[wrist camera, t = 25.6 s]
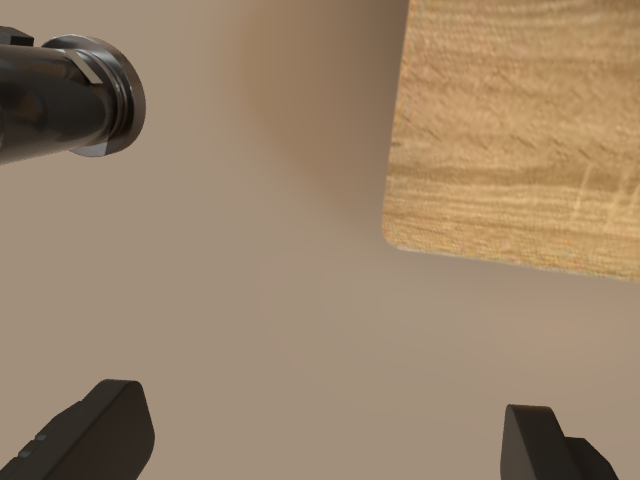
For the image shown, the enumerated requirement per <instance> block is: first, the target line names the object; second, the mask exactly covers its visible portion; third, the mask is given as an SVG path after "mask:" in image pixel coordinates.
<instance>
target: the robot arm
mask: <svg viewBox="0 0 640 480" xmlns="http://www.w3.org/2000/svg"><path fill="white" fill-rule="evenodd" d="M33 43H34V38H33V37H31V36H29V35H27V34H25V33H23V32H21V31H19V30H17V29H14V28H11V27H3V26H0V165H4V164H9V163H13V162H18V161H22V160H26V159H31V158H35V157H39V156H44V155H49V154H53V153H57V152H61V151H66V150H71V149H75V148H80V147H84V146H93V145H98V144H101V143H104V142H106V141H107V140H109V139H110V138H111V137H112V136H113V135H114V134H115V133H116V131H117V130H118V128H119V126H120V123H121V120H122V114H123V102H122V96H121V92H120V89H119V86H118V84H117V82H116V80H115V78H114V76H113V75H112V73H111V72H110V70H109V69H108V68H107V67H106V66H105V64H104V63H102V62H101V61H100V60H99V59H98V58H96V57H95V56H93V55H92V54H90V53H87V52H85V51H82V50H78V49H67V48H66V49H54V48H43V47H33ZM154 440H155V434H154V429H153V425H152V421H151V417H150V413H149V410H148V406H147V403H146V398H145V395H144V391H143V388H142V385H141V384H140V383H139V382H138V381H130V380H129V381H128V380H113V379H105V380H103V381H101V382H100V383H98V384H97V385H96V386H95V387H94V388H93V389H92V390H91V391H90V393H89V394H88V395H87V396H86V397H85V398H84V399H83V400H82V401H78V402H77V403H75V404H74V405H72V406H70V407H69V408H67V409H66V410H64V411H63V412H61V413H60V414H58V415H57V416H55V417H54V418H53V419H52V420H51V421H50V422H49V423H48V424H47V425H46V426H45V427H44V428H43V429H42V430H41V431H40V432H39V433H38V434H37V435H36V436H35V439H34V440H31V441H30V442H29V443H28V444H27V445H26V446H25V447H24V448H23V449H22V450H21V451H20V452H19V453H18V456H17V457H14V458H13V459H12V460H11V461H10V462H9V463H7V465H5V467H3V468H2V470H0V480H136V479H137V478H138V476H139V474H140V473H141V471H142V470H143V468H144V467H145V465H146V464H147V462H148V460H149V458H150V456H151V453H152V451H153V447H154ZM500 465H501V466H500V472H501V480H619V479H618V477H617V476H616V474H615V472H614V470H613V468H612V466H611V465H610V463H609V462H608V461H607V460H606V459H605V458H604V457H603V456H602V455H601V454H600V453H599V452H598V451H597V450H596V449H595V448H594V447H593V446H592V445H591V444H590V443H589V442H588V441H587V440H585V439H584V438H573V437H565V436H564V434H563V432H562V430H561V428H560V425H559V423H558V421H557V419H556V417H555V414H554V412H553V411H552V409H551V408H550V407H545V406H528V405H510V404H509V405H507V408H506V412H505V422H504V432H503V442H502V452H501V463H500Z"/></svg>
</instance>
